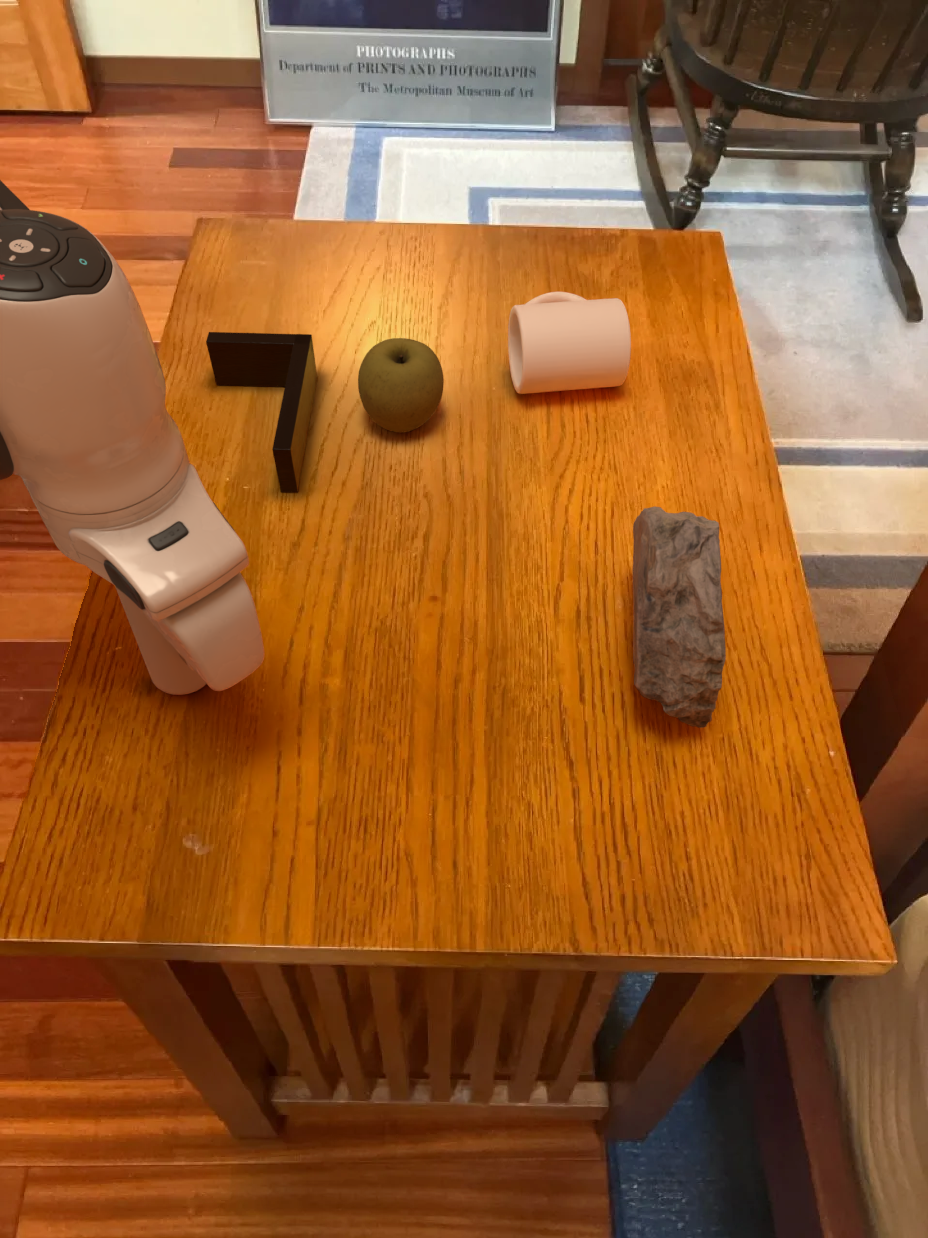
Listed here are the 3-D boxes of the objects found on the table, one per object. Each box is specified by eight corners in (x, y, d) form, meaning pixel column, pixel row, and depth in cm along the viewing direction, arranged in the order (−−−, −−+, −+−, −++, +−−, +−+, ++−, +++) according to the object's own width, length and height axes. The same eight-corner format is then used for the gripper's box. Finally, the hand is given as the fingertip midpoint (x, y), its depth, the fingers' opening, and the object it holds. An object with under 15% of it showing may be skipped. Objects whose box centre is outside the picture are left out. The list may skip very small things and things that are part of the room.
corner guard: (188, 490, 80) (174, 446, 76) (219, 375, 90) (208, 331, 86) (297, 492, 81) (290, 449, 77) (317, 377, 90) (311, 334, 86)
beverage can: (147, 655, 70) (105, 545, 61) (212, 639, 71) (180, 529, 62) (156, 706, 67) (114, 599, 58) (223, 689, 68) (192, 581, 59)
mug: (622, 403, 88) (636, 332, 82) (519, 411, 88) (525, 340, 81) (594, 326, 96) (605, 256, 89) (498, 333, 95) (503, 262, 88)
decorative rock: (705, 750, 66) (763, 624, 54) (611, 739, 66) (648, 611, 54) (699, 575, 76) (747, 435, 64) (617, 566, 76) (649, 425, 64)
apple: (455, 402, 88) (456, 338, 82) (422, 456, 84) (421, 393, 78) (382, 382, 90) (378, 318, 84) (346, 434, 85) (339, 370, 79)
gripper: (-15, 430, 58) (59, 573, 69) (166, 625, 49) (217, 753, 60) (77, 385, 60) (134, 530, 71) (264, 563, 52) (296, 696, 63)
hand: (173, 633), depth 66 cm, fingers closed on beverage can, 5 cm apart
